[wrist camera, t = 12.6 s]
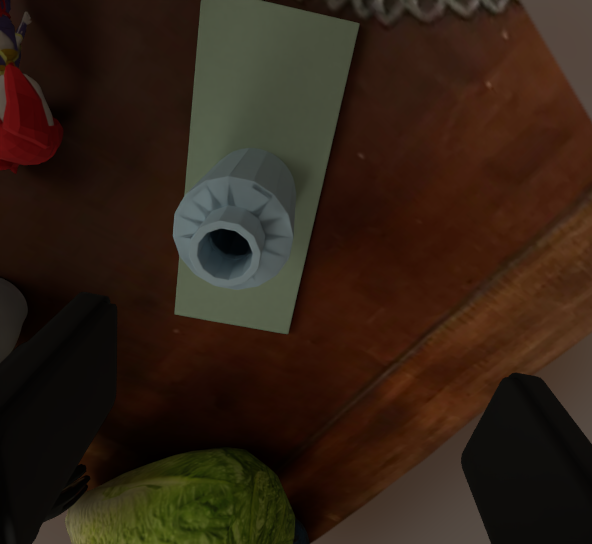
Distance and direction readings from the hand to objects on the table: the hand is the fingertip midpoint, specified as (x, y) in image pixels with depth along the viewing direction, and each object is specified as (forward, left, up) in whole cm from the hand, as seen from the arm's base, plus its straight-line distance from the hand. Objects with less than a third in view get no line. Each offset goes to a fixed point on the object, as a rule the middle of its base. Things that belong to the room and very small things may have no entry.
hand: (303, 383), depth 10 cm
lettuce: (+41, -3, -17) cm, 44 cm away
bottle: (+2, -4, -22) cm, 23 cm away
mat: (+2, -4, -23) cm, 23 cm away
